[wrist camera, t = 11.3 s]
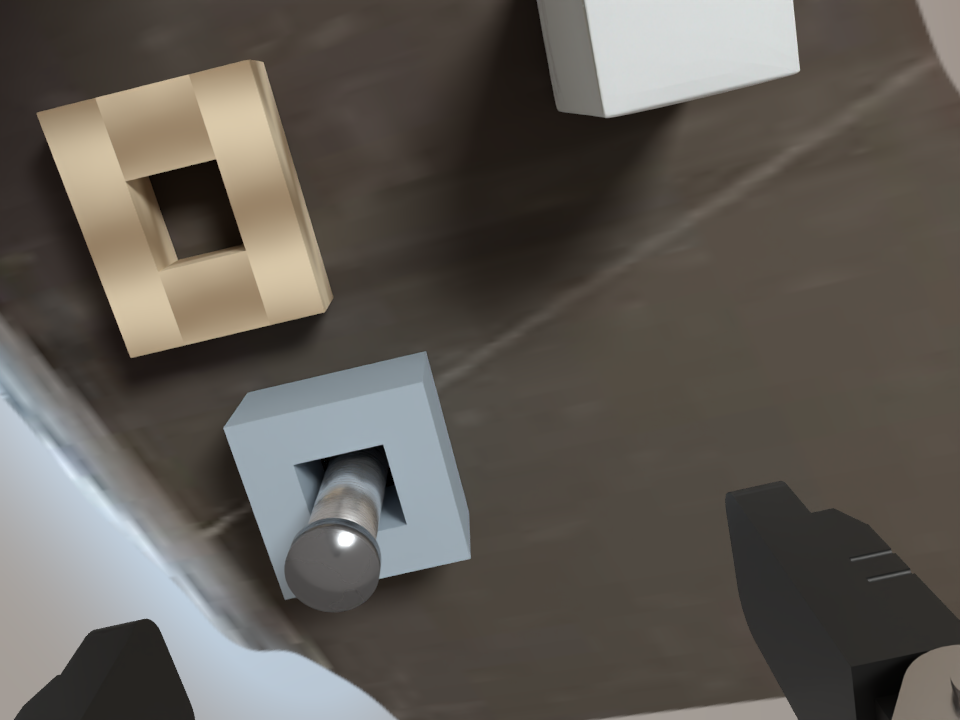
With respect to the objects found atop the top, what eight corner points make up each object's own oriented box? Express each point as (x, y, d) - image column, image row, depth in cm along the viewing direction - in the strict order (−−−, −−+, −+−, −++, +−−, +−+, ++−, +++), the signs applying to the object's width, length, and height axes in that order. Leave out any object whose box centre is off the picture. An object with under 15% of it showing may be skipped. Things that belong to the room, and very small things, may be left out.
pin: (317, 429, 46) (271, 541, 34) (387, 413, 46) (364, 520, 34) (337, 492, 47) (300, 620, 36) (405, 477, 47) (390, 600, 35)
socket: (247, 392, 45) (223, 427, 40) (425, 351, 45) (422, 382, 40) (301, 549, 48) (284, 599, 43) (469, 512, 48) (470, 558, 43)
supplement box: (554, 115, 41) (596, 123, 29) (525, -46, 39) (558, -109, 27) (701, 82, 41) (805, 77, 29) (681, -82, 39) (784, -162, 26)
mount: (65, 111, 40) (36, 112, 37) (263, 61, 40) (248, 59, 37) (151, 340, 44) (130, 358, 41) (333, 297, 44) (324, 312, 41)
